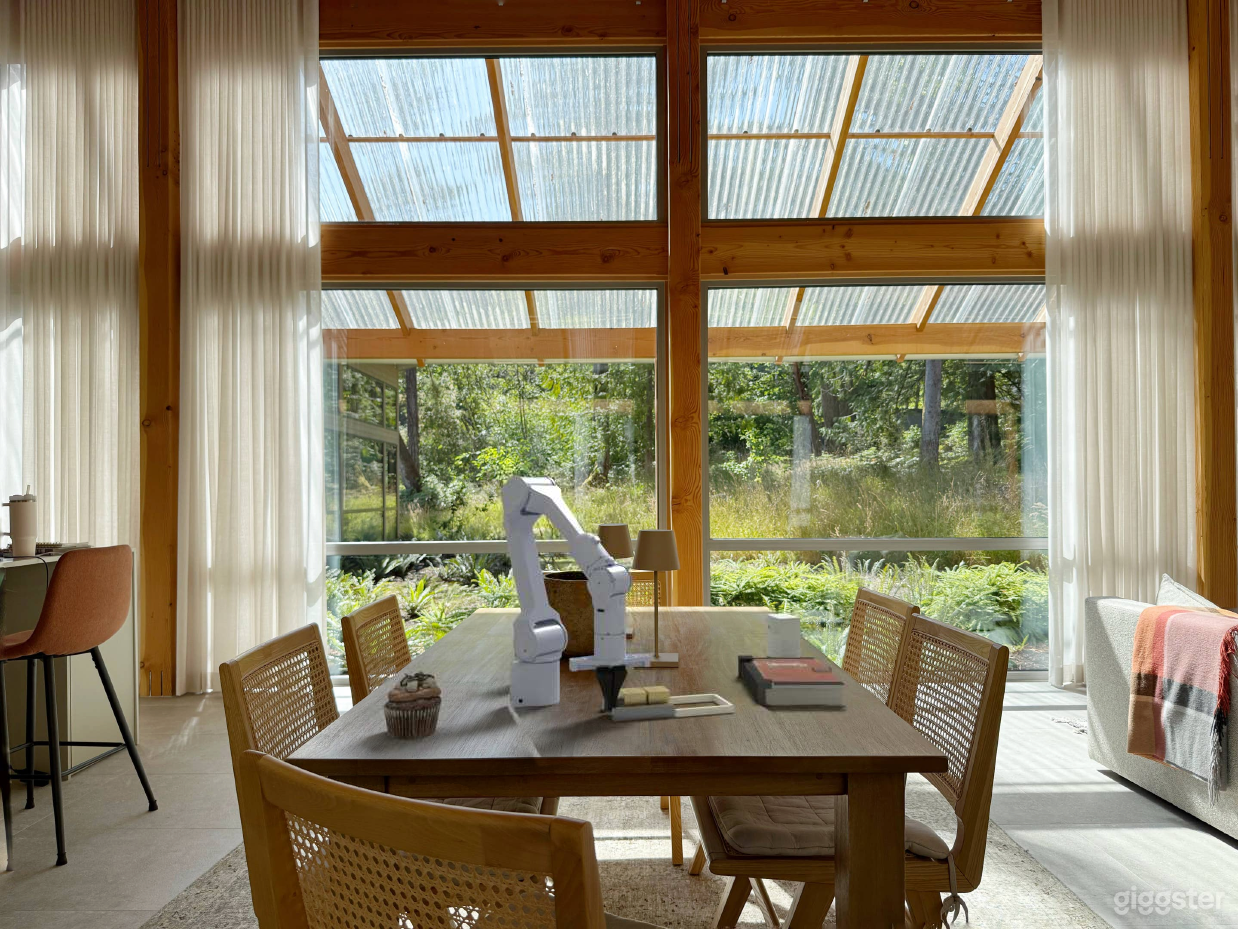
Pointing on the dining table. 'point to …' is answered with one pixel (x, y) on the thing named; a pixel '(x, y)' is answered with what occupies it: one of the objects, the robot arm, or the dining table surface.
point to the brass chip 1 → (632, 697)
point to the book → (790, 681)
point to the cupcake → (413, 707)
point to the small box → (783, 635)
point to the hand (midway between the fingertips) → (610, 709)
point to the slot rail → (639, 711)
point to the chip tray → (723, 708)
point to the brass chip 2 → (657, 695)
